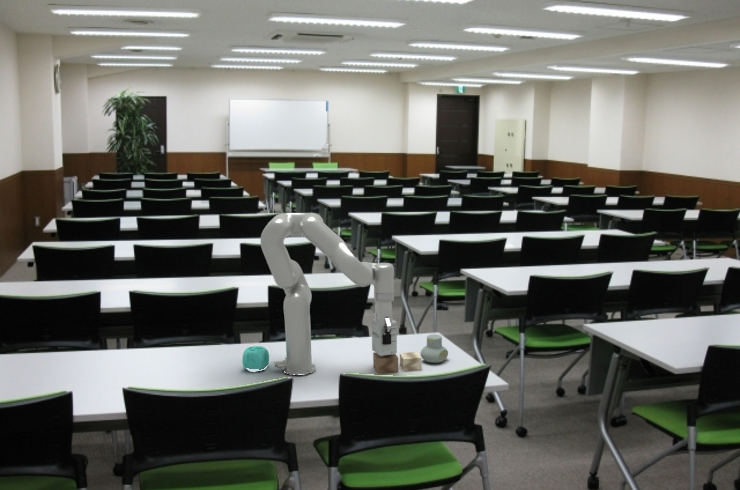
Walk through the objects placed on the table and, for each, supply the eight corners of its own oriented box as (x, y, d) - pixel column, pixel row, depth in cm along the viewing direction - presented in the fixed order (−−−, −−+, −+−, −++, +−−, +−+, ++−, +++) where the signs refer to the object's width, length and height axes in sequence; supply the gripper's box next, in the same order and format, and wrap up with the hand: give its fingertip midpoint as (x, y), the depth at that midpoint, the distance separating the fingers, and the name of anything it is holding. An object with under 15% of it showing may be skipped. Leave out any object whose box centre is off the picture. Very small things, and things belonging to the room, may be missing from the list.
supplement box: (371, 350, 278) (371, 318, 276) (389, 348, 281) (388, 316, 279) (379, 356, 272) (379, 323, 269) (397, 353, 274) (397, 321, 272)
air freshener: (435, 366, 280) (435, 342, 278) (417, 362, 285) (417, 338, 283) (450, 359, 288) (450, 334, 287) (432, 355, 293) (432, 331, 291)
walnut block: (377, 374, 273) (377, 359, 272) (373, 367, 281) (373, 352, 280) (398, 372, 275) (398, 357, 274) (393, 365, 282) (393, 350, 281)
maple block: (403, 371, 276) (403, 359, 275) (399, 365, 283) (399, 353, 282) (421, 370, 277) (421, 357, 276) (417, 364, 283) (417, 351, 283)
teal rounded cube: (262, 373, 276) (261, 353, 275) (242, 372, 278) (241, 352, 276) (269, 366, 284) (268, 346, 282) (250, 365, 285) (249, 345, 284)
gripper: (369, 291, 280) (369, 334, 283) (379, 302, 263) (379, 348, 266) (388, 290, 281) (388, 333, 285) (399, 301, 265) (399, 347, 268)
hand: (384, 340), depth 276 cm, fingers closed on supplement box, 8 cm apart
